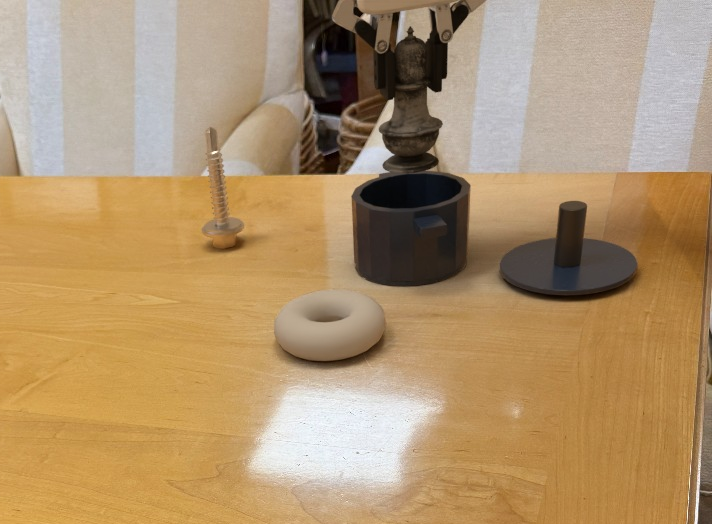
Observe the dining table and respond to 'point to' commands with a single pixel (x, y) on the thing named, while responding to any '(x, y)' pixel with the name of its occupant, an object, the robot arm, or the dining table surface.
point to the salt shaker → (410, 112)
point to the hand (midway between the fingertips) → (410, 90)
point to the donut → (329, 324)
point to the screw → (219, 198)
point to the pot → (411, 227)
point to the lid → (568, 259)
